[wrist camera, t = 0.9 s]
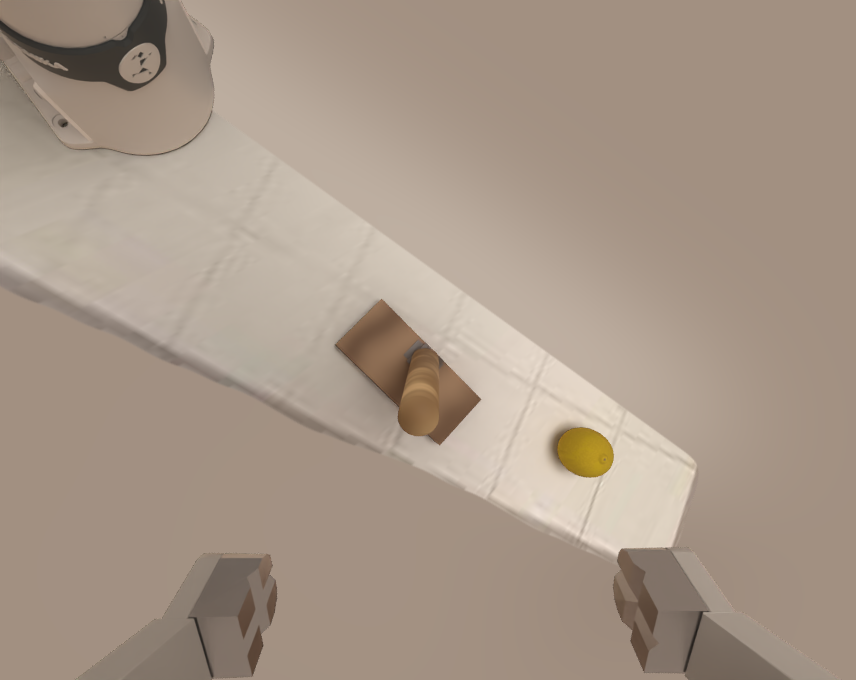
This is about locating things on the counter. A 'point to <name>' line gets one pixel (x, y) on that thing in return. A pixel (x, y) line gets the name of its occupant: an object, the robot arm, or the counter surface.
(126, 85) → the robot arm
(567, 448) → the lemon
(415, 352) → the tan wooden peg
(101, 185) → the counter surface
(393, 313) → the brown wooden block
